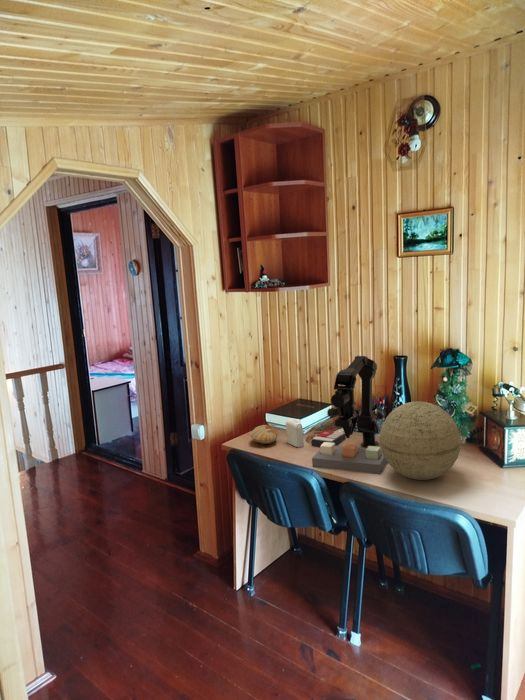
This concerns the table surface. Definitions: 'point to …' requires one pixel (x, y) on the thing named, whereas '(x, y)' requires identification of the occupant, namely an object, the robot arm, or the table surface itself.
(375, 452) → the sage button
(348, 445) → the terracotta button
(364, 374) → the robot arm
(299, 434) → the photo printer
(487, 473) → the table surface
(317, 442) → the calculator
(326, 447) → the cream button
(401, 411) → the brown large sphere
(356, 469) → the button panel
